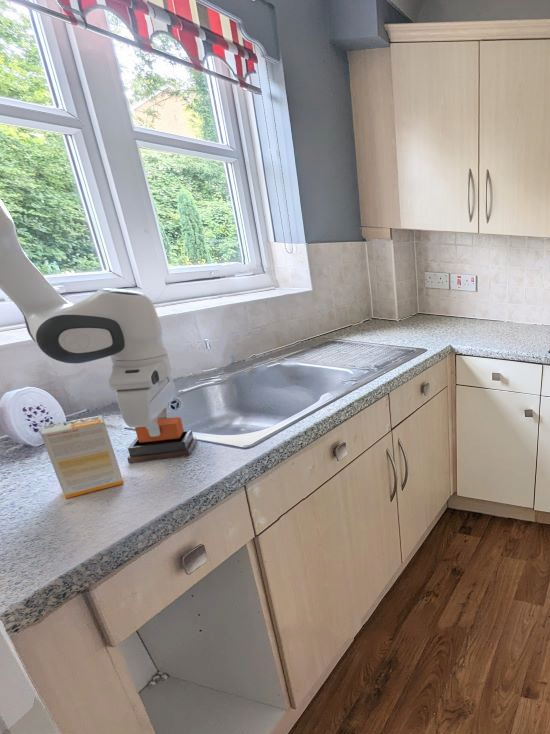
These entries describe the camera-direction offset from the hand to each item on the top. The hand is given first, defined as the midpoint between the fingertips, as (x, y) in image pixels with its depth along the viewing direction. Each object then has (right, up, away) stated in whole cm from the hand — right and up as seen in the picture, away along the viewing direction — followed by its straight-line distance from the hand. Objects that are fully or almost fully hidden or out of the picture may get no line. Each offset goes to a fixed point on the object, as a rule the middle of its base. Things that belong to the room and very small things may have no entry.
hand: (159, 430), depth 98 cm
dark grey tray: (0, -5, +2) cm, 5 cm away
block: (0, -1, +1) cm, 2 cm away
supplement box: (-2, -10, -12) cm, 16 cm away
